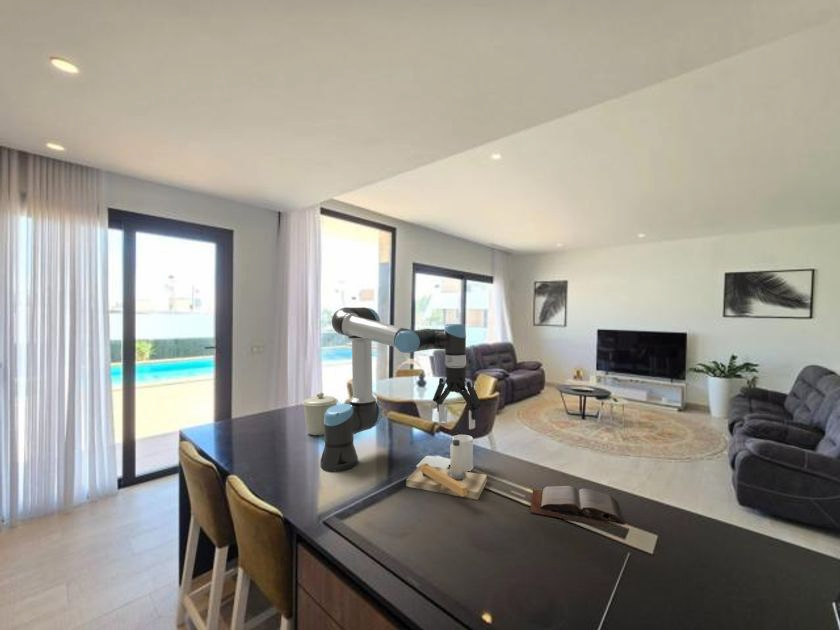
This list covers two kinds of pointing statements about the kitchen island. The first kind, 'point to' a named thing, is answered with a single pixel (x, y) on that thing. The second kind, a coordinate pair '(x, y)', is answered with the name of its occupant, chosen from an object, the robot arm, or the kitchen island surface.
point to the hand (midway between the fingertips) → (456, 424)
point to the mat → (435, 462)
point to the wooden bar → (444, 479)
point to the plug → (456, 461)
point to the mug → (466, 451)
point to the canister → (317, 412)
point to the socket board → (425, 482)
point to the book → (576, 505)
